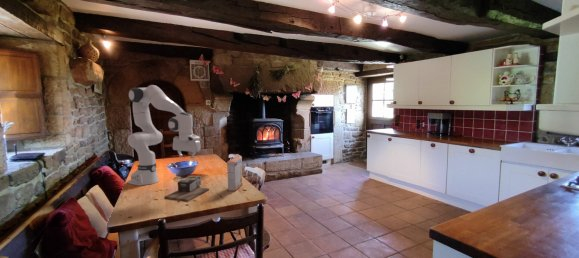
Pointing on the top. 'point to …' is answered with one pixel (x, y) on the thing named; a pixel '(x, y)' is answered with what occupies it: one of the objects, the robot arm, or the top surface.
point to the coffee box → (189, 183)
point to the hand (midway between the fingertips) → (186, 157)
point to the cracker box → (234, 174)
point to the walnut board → (187, 194)
